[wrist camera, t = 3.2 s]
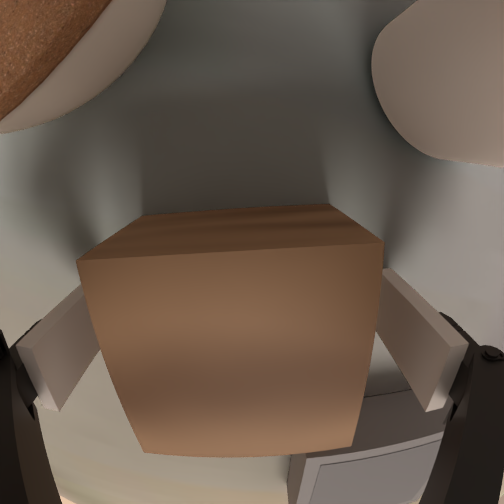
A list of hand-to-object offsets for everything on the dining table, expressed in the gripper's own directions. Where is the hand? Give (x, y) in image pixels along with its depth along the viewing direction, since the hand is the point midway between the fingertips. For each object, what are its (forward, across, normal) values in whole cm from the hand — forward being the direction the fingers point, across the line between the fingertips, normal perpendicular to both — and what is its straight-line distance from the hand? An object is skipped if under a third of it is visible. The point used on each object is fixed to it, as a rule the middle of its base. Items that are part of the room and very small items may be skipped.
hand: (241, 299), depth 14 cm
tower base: (0, +8, -12) cm, 14 cm away
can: (0, +9, +10) cm, 14 cm away
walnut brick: (0, 0, 0) cm, 0 cm away
